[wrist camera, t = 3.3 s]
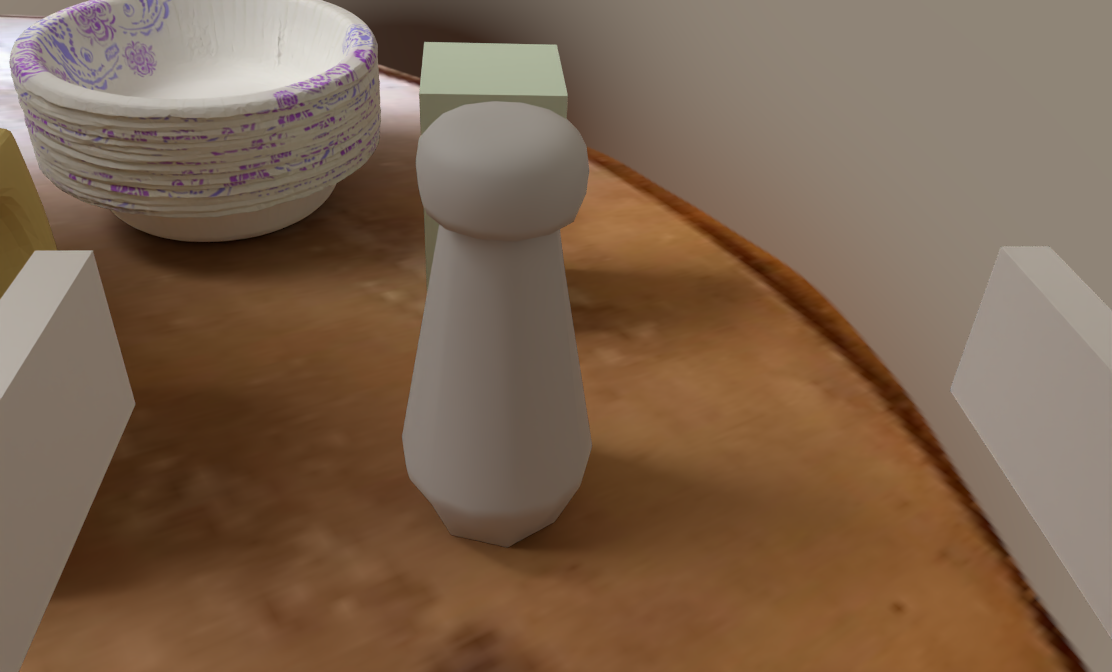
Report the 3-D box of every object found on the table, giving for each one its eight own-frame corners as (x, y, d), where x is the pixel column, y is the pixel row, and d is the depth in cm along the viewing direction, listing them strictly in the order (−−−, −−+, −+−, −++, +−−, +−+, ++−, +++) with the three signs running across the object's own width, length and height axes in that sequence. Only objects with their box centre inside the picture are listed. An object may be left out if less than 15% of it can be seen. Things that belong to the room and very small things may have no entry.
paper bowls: (394, 269, 42) (384, 95, 37) (17, 291, 39) (-45, 107, 34) (380, 125, 54) (371, -20, 49) (90, 134, 51) (51, -19, 46)
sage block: (428, 334, 38) (419, 93, 32) (432, 267, 42) (424, 42, 36) (554, 333, 39) (567, 95, 33) (546, 267, 43) (556, 44, 37)
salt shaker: (399, 446, 33) (376, 78, 25) (563, 428, 34) (589, 72, 26) (415, 580, 28) (393, 181, 21) (604, 555, 29) (650, 167, 22)
